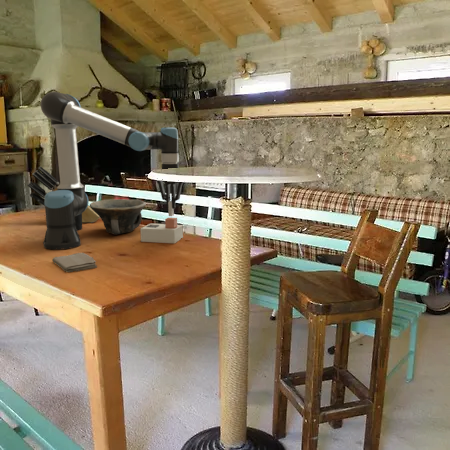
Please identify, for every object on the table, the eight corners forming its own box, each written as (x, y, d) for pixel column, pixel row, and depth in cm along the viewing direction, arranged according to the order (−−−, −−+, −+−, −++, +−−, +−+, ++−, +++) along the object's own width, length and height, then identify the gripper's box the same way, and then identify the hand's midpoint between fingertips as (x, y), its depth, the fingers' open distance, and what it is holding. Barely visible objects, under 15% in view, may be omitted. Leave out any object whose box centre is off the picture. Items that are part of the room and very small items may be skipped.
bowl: (134, 239, 206) (132, 207, 203) (81, 237, 211) (79, 205, 208) (154, 228, 232) (153, 199, 229) (107, 226, 237) (105, 197, 234)
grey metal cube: (155, 236, 204) (155, 226, 204) (147, 235, 205) (146, 226, 204) (158, 234, 208) (158, 224, 208) (150, 233, 209) (150, 224, 208)
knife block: (32, 222, 246) (28, 165, 240) (99, 219, 256) (96, 164, 250) (30, 226, 235) (25, 167, 229) (99, 222, 245) (96, 166, 239)
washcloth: (66, 274, 155) (66, 266, 155) (51, 263, 169) (50, 255, 169) (99, 268, 162) (99, 260, 162) (82, 258, 176) (81, 250, 176)
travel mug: (79, 231, 224) (77, 191, 220) (64, 231, 224) (62, 191, 220) (84, 228, 231) (82, 189, 227) (70, 227, 231) (67, 189, 228)
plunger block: (174, 243, 199) (174, 230, 198) (140, 241, 202) (140, 228, 201) (182, 237, 210) (182, 225, 209) (150, 235, 214) (150, 223, 213)
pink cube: (174, 229, 202) (174, 219, 201) (165, 228, 203) (165, 219, 202) (177, 227, 206) (177, 217, 205) (168, 227, 207) (168, 217, 206)
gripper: (186, 162, 201) (187, 214, 205) (159, 162, 204) (160, 213, 208) (181, 163, 194) (182, 217, 198) (153, 163, 196) (154, 216, 201)
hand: (171, 215), depth 203 cm, fingers closed
